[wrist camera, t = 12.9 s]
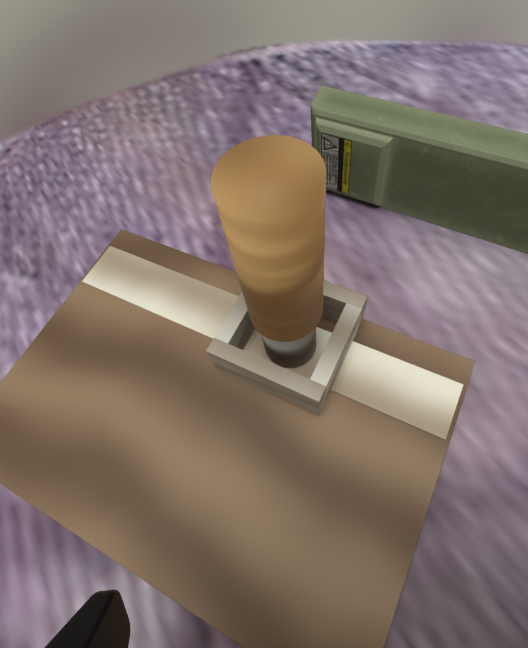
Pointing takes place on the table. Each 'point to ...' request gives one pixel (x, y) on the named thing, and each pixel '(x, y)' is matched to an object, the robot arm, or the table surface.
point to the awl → (276, 238)
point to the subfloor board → (232, 447)
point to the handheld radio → (425, 164)
